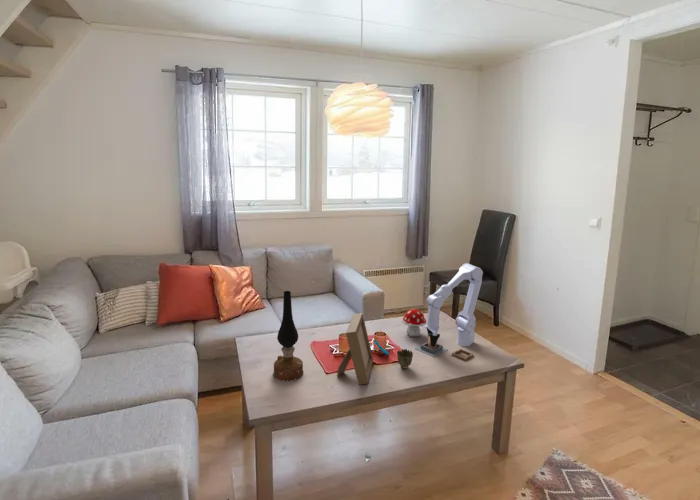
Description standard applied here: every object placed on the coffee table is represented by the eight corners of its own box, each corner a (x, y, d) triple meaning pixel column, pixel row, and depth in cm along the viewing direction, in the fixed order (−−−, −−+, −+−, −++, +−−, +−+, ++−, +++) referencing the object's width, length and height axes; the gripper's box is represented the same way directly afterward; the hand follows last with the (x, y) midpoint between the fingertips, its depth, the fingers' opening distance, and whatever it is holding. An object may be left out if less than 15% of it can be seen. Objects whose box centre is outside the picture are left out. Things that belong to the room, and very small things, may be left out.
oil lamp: (303, 386, 188) (320, 307, 176) (269, 383, 185) (284, 303, 173) (301, 367, 201) (317, 292, 189) (269, 365, 198) (283, 288, 186)
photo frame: (373, 361, 205) (374, 313, 199) (368, 385, 184) (368, 332, 178) (343, 359, 207) (343, 311, 201) (334, 382, 186) (334, 329, 180)
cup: (402, 373, 194) (403, 357, 193) (393, 366, 201) (394, 350, 199) (415, 369, 198) (416, 354, 196) (406, 362, 204) (407, 347, 202)
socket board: (428, 343, 225) (429, 338, 224) (447, 351, 217) (448, 346, 216) (414, 350, 217) (415, 344, 216) (433, 359, 209) (434, 353, 208)
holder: (459, 351, 217) (459, 347, 216) (475, 358, 210) (475, 354, 210) (449, 357, 211) (449, 353, 210) (465, 363, 204) (465, 359, 204)
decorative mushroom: (428, 332, 240) (430, 307, 236) (421, 341, 227) (423, 315, 224) (405, 327, 245) (406, 303, 242) (397, 336, 233) (398, 311, 230)
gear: (390, 355, 207) (376, 341, 207) (382, 364, 208) (368, 350, 207) (388, 348, 218) (375, 335, 218) (380, 356, 219) (366, 343, 218)
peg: (426, 347, 219) (427, 334, 217) (435, 347, 219) (436, 334, 217) (428, 351, 214) (429, 338, 213) (437, 351, 214) (438, 338, 213)
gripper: (423, 312, 220) (422, 336, 223) (427, 323, 206) (426, 349, 209) (437, 312, 220) (435, 337, 223) (442, 324, 205) (440, 349, 209)
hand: (431, 342), depth 216 cm, fingers open, 7 cm apart
